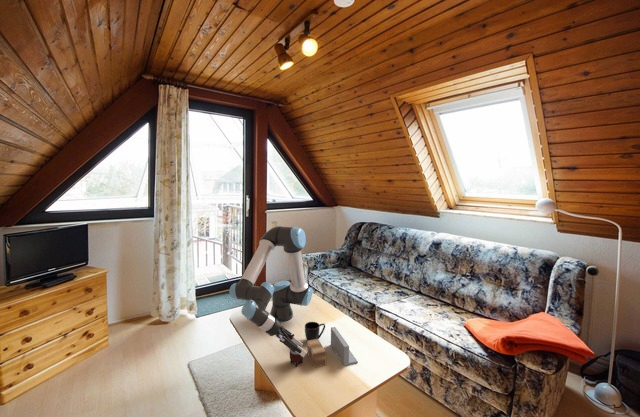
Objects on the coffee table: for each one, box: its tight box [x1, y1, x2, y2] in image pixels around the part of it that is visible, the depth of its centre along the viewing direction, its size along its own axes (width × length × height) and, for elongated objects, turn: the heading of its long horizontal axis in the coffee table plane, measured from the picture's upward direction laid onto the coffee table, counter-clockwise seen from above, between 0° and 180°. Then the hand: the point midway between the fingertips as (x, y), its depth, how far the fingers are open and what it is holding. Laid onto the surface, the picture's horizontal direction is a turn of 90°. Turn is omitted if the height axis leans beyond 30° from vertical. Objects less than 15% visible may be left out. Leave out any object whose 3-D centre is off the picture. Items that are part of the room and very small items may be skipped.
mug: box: [304, 321, 326, 342], centre depth 162 cm, size 8×12×10 cm
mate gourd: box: [289, 345, 305, 367], centre depth 142 cm, size 8×8×15 cm
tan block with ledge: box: [306, 338, 327, 368], centre depth 146 cm, size 12×6×7 cm, turn 18°
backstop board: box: [330, 326, 358, 367], centre depth 151 cm, size 19×7×10 cm, turn 18°
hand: (302, 350), depth 144 cm, fingers closed on mate gourd, 7 cm apart
